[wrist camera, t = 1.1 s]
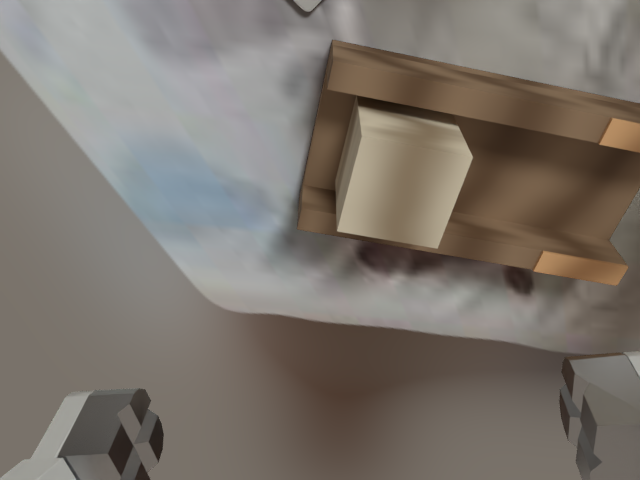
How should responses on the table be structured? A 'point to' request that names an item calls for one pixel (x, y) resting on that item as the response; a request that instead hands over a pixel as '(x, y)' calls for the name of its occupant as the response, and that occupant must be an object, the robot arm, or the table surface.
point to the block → (399, 172)
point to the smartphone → (307, 4)
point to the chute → (495, 161)
